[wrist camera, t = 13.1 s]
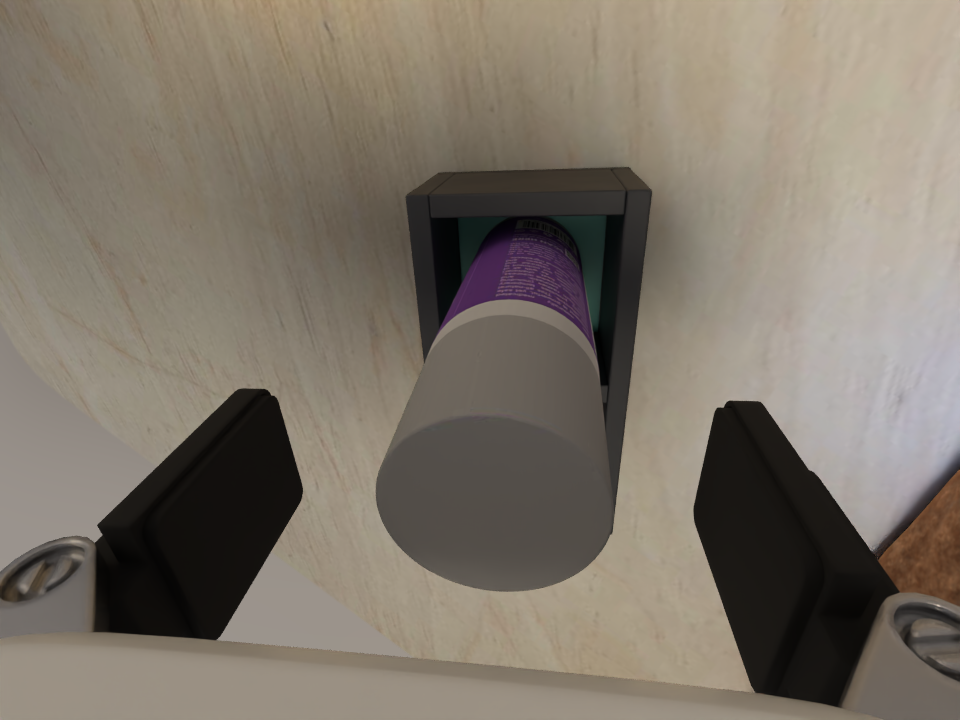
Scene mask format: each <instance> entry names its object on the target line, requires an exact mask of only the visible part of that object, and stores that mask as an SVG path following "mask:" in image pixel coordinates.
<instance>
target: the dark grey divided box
mask: <svg viewBox="0 0 960 720" xmlns="http://www.w3.org/2000/svg"><path fill="white" fill-rule="evenodd" d="M651 197H652V190H651V189H650V188H649V187H648V186H647V185H646V184H645V183H644V182H643V181H642V180H641V179H640V178H639V177H638V176H637V175H636V174H635V173H634V172H633V171H632V170H631V169H630V168H629V167H617V168H582V169H548V170H513V171H479V172H445V173H438V174H437V175H435V176H433V177H432V178H431V179H429V180H428V181H426V182H425V183H423V184H422V185H420V186H419V187H417V188H416V189H414V190H413V191H411V192H410V193H409V194H407V195H406V204H407V213H408V222H409V231H410V240H411V249H412V258H413V267H414V276H415V285H416V294H417V303H418V312H419V321H420V330H421V339H422V348H423V357H424V363H425V361H426V358H427V356H428V353H429V351H430V348H431V346H432V343H433V341H434V339H435V337H436V335H437V333H438V331H439V329H440V327H441V325H442V323H443V321H444V319H445V317H446V315H447V313H448V311H449V309H450V307H451V305H452V303H453V300H454V298H455V296H456V294H457V292H458V290H459V288H460V286H461V284H462V282H463V280H464V278H465V276H466V274H467V272H468V270H469V268H470V266H471V264H472V262H473V260H474V258H475V256H476V254H477V252H478V249H479V247H480V245H481V243H482V242H483V240H484V238H485V237H486V235H487V234H488V233H489V232H490V231H491V229H492V228H493V227H495V226H496V225H497V224H498V223H500V222H501V221H503V220H505V219H507V218H509V217H535V216H546V217H548V218H551V219H553V220H555V221H557V222H558V223H560V224H561V225H562V226H563V227H565V228H566V229H567V230H568V232H569V233H570V234H571V235H572V237H573V238H574V240H575V242H576V244H577V247H578V250H579V254H580V258H581V264H582V270H583V276H584V282H585V288H586V294H587V300H588V306H589V312H590V318H591V324H592V330H593V336H594V342H595V348H596V354H597V360H598V366H599V376H600V386H601V395H602V404H603V413H604V422H605V431H606V440H607V450H608V459H609V468H610V477H611V486H612V495H613V505H614V514H615V506H616V497H617V489H618V480H619V471H620V463H621V454H622V446H623V437H624V429H625V420H626V411H627V403H628V394H629V386H630V377H631V369H632V360H633V351H634V343H635V334H636V326H637V317H638V308H639V300H640V291H641V283H642V274H643V266H644V257H645V248H646V240H647V231H648V223H649V214H650V206H651ZM613 523H614V520H613ZM612 531H613V526H612V530H611V533H610V535H611V534H612Z"/></svg>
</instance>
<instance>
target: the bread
mask: <svg viewBox="0 0 960 720" xmlns="http://www.w3.org/2000/svg"><path fill="white" fill-rule="evenodd" d="M878 562H879V563H880V564H881V566H882V567H883V569H884V570H885V571H886V573H887V574H888V576H889V577H890V579H891V580H892V581H893V583H894V584H895V586H896V587H897V588H898V590H899V591H900V593H920V594H925V595H929V596H934V597H937V598H940V599H942V600H944V601H947V602H949V603H952V604H954V605H957V606H959V607H960V469H959V470H958V472H957V473H956V474H955V475H954V476H953V477H952V478H951V479H950V480H949V481H948V482H947V483H946V485H945V486H944V487H943V488H942V489H941V490H940V492H939V493H938V494H937V495H936V496H935V497H934V499H933V500H932V501H931V502H930V503H929V504H928V506H927V507H926V508H925V509H924V510H923V511H922V512H921V514H920V515H919V516H918V517H917V518H916V519H915V520H914V521H913V523H912V524H911V525H910V526H909V527H908V528H907V529H906V530H905V531H904V532H903V533H902V534H901V535H900V536H899V537H898V538H897V539H896V540H895V541H894V542H893V544H892V545H891V546H890V547H889V548H888V549H887V550H886V551H885V552H884V553H883V555H882V556H881V557H880V558H879V560H878ZM760 694H763V693H760Z"/></svg>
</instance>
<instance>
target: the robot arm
mask: <svg viewBox="0 0 960 720" xmlns="http://www.w3.org/2000/svg"><path fill="white" fill-rule="evenodd" d="M302 494H303V487H302V483H301V479H300V476H299V472H298V469H297V465H296V462H295V458H294V455H293V451H292V448H291V444H290V441H289V437H288V434H287V430H286V427H285V423H284V420H283V416H282V413H281V409H280V406H279V402H278V400H277V398H276V397H275V396H271V394H270V392H269V391H268V390H266V389H238V390H237V391H235V392H234V393H233V394H232V395H231V396H230V397H229V398H228V399H227V400H226V401H225V402H224V403H223V404H222V405H221V406H220V407H219V408H218V409H217V410H216V411H215V412H214V413H213V414H211V415H210V416H209V417H208V418H207V419H206V420H205V421H204V422H203V423H202V424H201V425H200V426H199V427H198V428H197V429H196V430H195V431H194V432H193V433H192V434H191V435H190V436H189V437H188V438H187V439H186V440H185V441H184V442H183V443H182V444H180V445H179V446H178V447H177V448H176V449H175V450H174V451H173V452H172V453H171V454H170V455H169V456H168V457H167V458H166V459H165V460H164V461H163V462H162V463H161V464H160V465H159V466H158V467H157V468H156V469H155V470H154V471H153V472H152V473H151V474H149V475H148V476H147V477H146V478H145V479H144V480H143V481H142V482H141V483H140V484H139V485H138V486H137V487H136V488H135V489H134V490H133V491H132V492H131V493H130V494H129V495H128V496H127V497H126V498H125V499H124V500H123V501H122V502H121V503H120V504H118V505H117V506H116V507H115V508H114V509H113V510H112V511H111V512H110V513H109V514H108V515H107V516H106V517H105V518H104V519H103V520H102V521H101V522H100V523H99V524H98V525H97V526H98V528H99V529H100V531H101V533H102V534H103V535H102V537H100V538H99V539H98V541H96V542H95V543H94V542H93V541H92V540H90V539H89V538H87V537H81V536H71V537H63V538H59V539H57V540H53V541H49V542H47V543H44V544H42V545H40V546H38V547H36V548H33V549H31V550H30V551H28V552H26V553H25V554H23V555H21V556H20V557H18V558H17V559H15V560H14V561H13V562H11V563H10V564H9V565H8V566H6V567H5V568H4V569H3V570H2V571H1V572H0V720H960V607H959V606H957V605H954V604H952V603H949V602H947V601H944V600H942V599H940V598H937V597H934V596H929V595H925V594H920V593H900V591H899V590H898V588H897V587H896V586H895V584H894V583H893V581H892V580H891V579H890V577H889V576H888V574H887V573H886V571H885V570H884V569H883V567H882V566H881V564H880V563H879V562H878V560H877V559H876V557H875V556H874V555H873V553H872V552H871V550H870V549H869V548H868V546H867V545H866V543H865V542H864V540H863V539H862V538H861V536H860V535H859V533H858V532H857V531H856V529H855V528H854V526H853V525H852V524H851V522H850V521H849V519H848V518H847V517H846V515H845V514H844V512H843V511H842V509H841V508H840V507H839V505H838V504H837V502H836V501H835V500H834V498H833V497H832V495H831V494H830V493H829V491H828V490H827V488H826V487H825V486H824V484H823V483H822V481H821V480H820V479H819V477H818V476H817V475H816V474H815V473H814V472H812V471H810V470H808V468H807V467H806V465H805V464H804V462H803V461H802V460H801V458H800V457H799V455H798V454H797V452H796V451H795V449H794V448H793V447H792V445H791V444H790V442H789V441H788V439H787V438H786V437H785V435H784V434H783V432H782V431H781V429H780V428H779V427H778V425H777V424H776V422H775V421H774V419H773V418H772V416H771V415H770V414H769V412H768V411H767V409H766V408H765V406H764V405H763V404H762V403H761V402H758V401H728V402H727V403H726V404H725V406H724V408H717V409H716V411H715V413H714V417H713V422H712V426H711V431H710V435H709V440H708V444H707V449H706V454H705V458H704V463H703V467H702V472H701V476H700V481H699V485H698V490H697V494H696V499H695V503H694V521H695V525H696V528H697V531H698V534H699V537H700V540H701V543H702V545H703V548H704V551H705V554H706V557H707V560H708V563H709V566H710V569H711V571H712V574H713V577H714V580H715V583H716V586H717V589H718V592H719V594H720V597H721V600H722V603H723V606H724V609H725V612H726V615H727V617H728V620H729V623H730V626H731V629H732V632H733V635H734V638H735V641H736V643H737V646H738V649H739V652H740V655H741V658H742V661H743V664H744V666H745V669H746V672H747V675H748V678H749V681H750V683H751V686H752V688H753V689H754V691H755V692H757V693H749V692H741V691H732V690H724V689H715V688H706V687H698V686H689V685H681V684H672V683H663V682H655V681H645V680H634V679H624V678H614V677H604V676H594V675H584V674H574V673H564V672H554V671H543V670H533V669H523V668H513V667H503V666H493V665H482V664H471V663H461V662H450V661H439V660H429V659H418V658H408V657H396V656H386V655H375V654H364V653H353V652H342V651H332V650H320V649H309V648H297V647H286V646H275V645H264V644H252V643H240V642H229V641H218V640H217V639H218V638H219V637H220V636H221V634H222V633H223V631H224V629H225V628H226V626H227V624H228V623H229V621H230V619H231V618H232V616H233V614H234V612H235V611H236V609H237V608H238V606H239V604H240V603H241V601H242V599H243V598H244V596H245V594H246V593H247V591H248V589H249V587H250V585H251V584H252V582H253V581H254V579H255V577H256V576H257V574H258V572H259V571H260V569H261V567H262V566H263V564H264V562H265V561H266V559H267V557H268V556H269V554H270V552H271V551H272V549H273V547H274V546H275V544H276V542H277V541H278V539H279V537H280V535H281V534H282V532H283V530H284V529H285V527H286V525H287V524H288V522H289V520H290V519H291V517H292V515H293V514H294V512H295V510H296V509H297V507H298V505H299V504H300V501H301V499H302ZM758 693H763V694H758Z"/></svg>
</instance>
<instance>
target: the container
mask: <svg viewBox="0 0 960 720" xmlns="http://www.w3.org/2000/svg"><path fill="white" fill-rule="evenodd" d="M376 501H377V507H378V510H379V514H380V517H381V519H382V522H383V524H384V526H385V527H386V529H387V531H388V533H389V534H390V536H391V537H392V539H393V540H394V541H395V542H396V544H397V545H398V546H399V547H400V548H401V549H402V550H403V551H404V552H405V553H406V554H407V555H408V556H409V557H411V558H412V559H413V560H414V561H415V562H417V563H418V564H420V565H421V566H423V567H424V568H426V569H427V570H429V571H431V572H433V573H435V574H437V575H439V576H441V577H443V578H445V579H448V580H450V581H453V582H456V583H459V584H462V585H465V586H469V587H473V588H478V589H484V590H491V591H506V592H510V591H527V590H533V589H539V588H543V587H547V586H550V585H553V584H556V583H559V582H562V581H564V580H566V579H568V578H570V577H572V576H574V575H575V574H577V573H579V572H580V571H582V570H583V569H584V568H586V567H587V566H588V565H589V564H590V563H591V562H592V561H593V560H594V559H595V558H596V557H597V556H598V555H599V553H600V552H601V551H602V549H603V548H604V546H605V544H606V543H607V541H608V538H609V536H610V533H611V530H612V526H613V520H614V505H613V495H612V486H611V477H610V468H609V459H608V450H607V440H606V431H605V422H604V413H603V404H602V395H601V386H600V376H599V366H598V360H597V354H596V348H595V342H594V336H593V330H592V324H591V318H590V312H589V306H588V300H587V294H586V288H585V282H584V276H583V270H582V264H581V258H580V254H579V250H578V247H577V244H576V242H575V240H574V238H573V237H572V235H571V234H570V233H569V232H568V230H567V229H566V228H565V227H563V226H562V225H561V224H560V223H558V222H557V221H555V220H553V219H551V218H548V217H546V216H535V217H509V218H507V219H505V220H503V221H501V222H500V223H498V224H497V225H496V226H495V227H493V228H492V229H491V231H490V232H489V233H488V234H487V235H486V237H485V238H484V240H483V242H482V243H481V245H480V247H479V249H478V252H477V254H476V256H475V258H474V260H473V262H472V264H471V266H470V268H469V270H468V272H467V274H466V276H465V278H464V280H463V282H462V284H461V286H460V288H459V290H458V292H457V294H456V296H455V298H454V300H453V303H452V305H451V307H450V309H449V311H448V313H447V315H446V317H445V319H444V321H443V323H442V325H441V327H440V329H439V331H438V333H437V335H436V337H435V339H434V341H433V343H432V346H431V348H430V351H429V353H428V356H427V358H426V361H425V363H424V365H423V368H422V370H421V373H420V375H419V377H418V380H417V382H416V384H415V387H414V389H413V391H412V394H411V396H410V399H409V401H408V403H407V406H406V408H405V410H404V413H403V415H402V418H401V420H400V422H399V425H398V427H397V429H396V432H395V434H394V436H393V439H392V441H391V444H390V446H389V448H388V451H387V453H386V455H385V458H384V460H383V462H382V465H381V467H380V470H379V473H378V477H377V482H376Z"/></svg>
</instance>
